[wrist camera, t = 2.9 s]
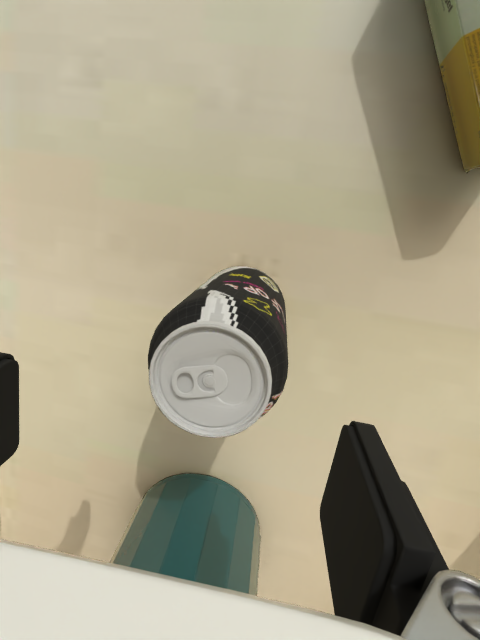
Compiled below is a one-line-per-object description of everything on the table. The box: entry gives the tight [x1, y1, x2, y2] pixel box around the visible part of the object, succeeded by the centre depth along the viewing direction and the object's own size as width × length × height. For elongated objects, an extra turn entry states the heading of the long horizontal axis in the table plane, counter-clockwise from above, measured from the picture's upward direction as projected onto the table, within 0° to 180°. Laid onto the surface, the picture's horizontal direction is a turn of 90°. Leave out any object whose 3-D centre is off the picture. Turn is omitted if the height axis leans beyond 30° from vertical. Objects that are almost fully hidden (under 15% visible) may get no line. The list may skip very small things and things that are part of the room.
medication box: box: [424, 0, 480, 173], centre depth 17 cm, size 12×3×4 cm, turn 21°
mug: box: [109, 473, 261, 596], centre depth 26 cm, size 13×10×9 cm
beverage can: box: [148, 266, 288, 438], centre depth 19 cm, size 6×6×12 cm
